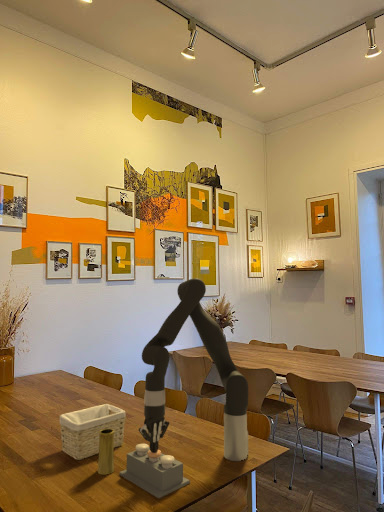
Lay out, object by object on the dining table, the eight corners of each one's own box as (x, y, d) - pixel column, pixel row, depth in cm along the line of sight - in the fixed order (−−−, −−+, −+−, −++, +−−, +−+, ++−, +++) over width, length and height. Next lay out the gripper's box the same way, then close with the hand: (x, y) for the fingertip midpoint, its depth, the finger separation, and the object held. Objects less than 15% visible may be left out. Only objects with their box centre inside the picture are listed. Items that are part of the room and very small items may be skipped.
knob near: (167, 477, 132) (167, 453, 133) (176, 482, 129) (177, 458, 130) (157, 482, 129) (157, 458, 130) (166, 487, 126) (166, 462, 126)
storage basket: (75, 463, 146) (76, 424, 147) (56, 450, 157) (57, 414, 159) (126, 445, 163) (127, 410, 164) (106, 435, 174) (107, 402, 175)
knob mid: (154, 470, 137) (155, 448, 138) (163, 475, 134) (163, 452, 135) (144, 475, 134) (144, 451, 135) (153, 480, 131) (153, 456, 131)
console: (149, 462, 147) (150, 443, 147) (189, 483, 131) (189, 462, 132) (119, 474, 137) (120, 454, 137) (158, 498, 121) (159, 475, 122)
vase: (115, 467, 143) (116, 428, 144) (112, 475, 137) (113, 434, 138) (99, 467, 142) (100, 428, 144) (95, 475, 136) (96, 434, 138)
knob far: (143, 464, 142) (143, 442, 143) (151, 468, 139) (151, 446, 140) (132, 468, 139) (133, 446, 140) (140, 473, 136) (141, 450, 136)
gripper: (161, 396, 144) (161, 443, 142) (133, 403, 134) (132, 454, 133) (175, 400, 138) (174, 449, 137) (146, 408, 129) (145, 461, 128)
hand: (153, 451), depth 135 cm, fingers closed
